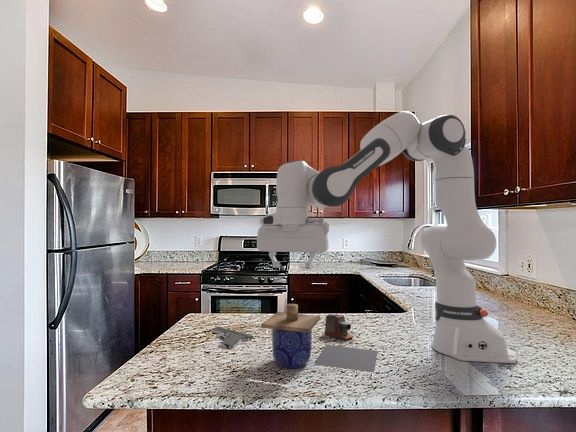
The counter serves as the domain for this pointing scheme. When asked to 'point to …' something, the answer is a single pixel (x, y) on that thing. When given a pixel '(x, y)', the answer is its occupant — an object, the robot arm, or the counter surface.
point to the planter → (291, 348)
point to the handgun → (231, 337)
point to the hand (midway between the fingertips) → (292, 268)
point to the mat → (348, 358)
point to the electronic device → (337, 327)
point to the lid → (291, 320)
